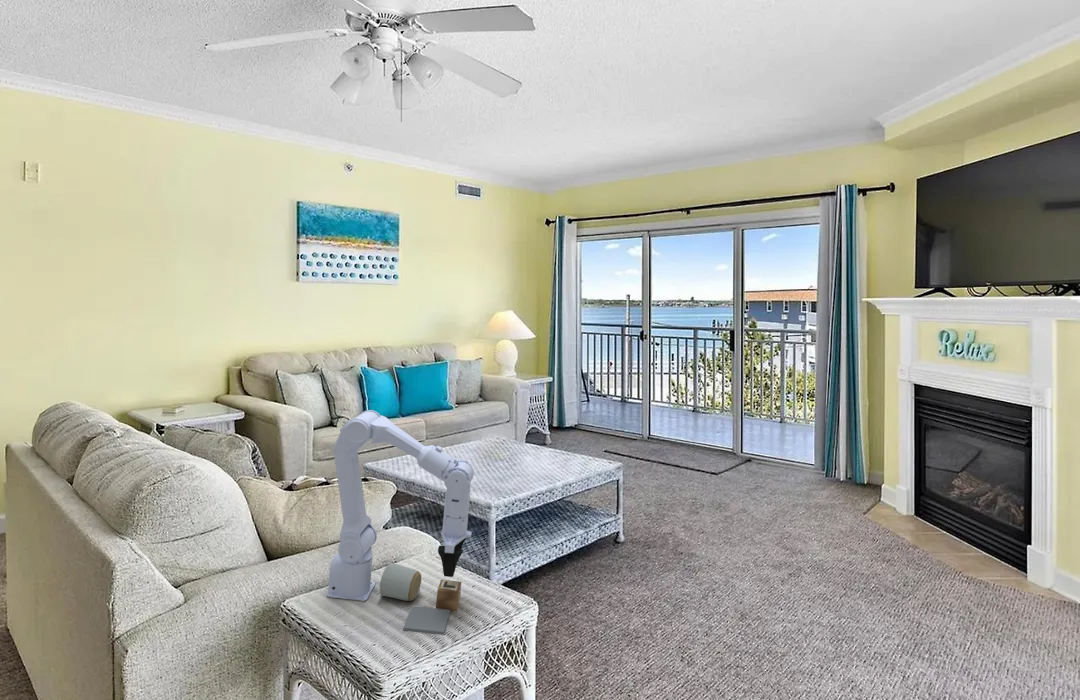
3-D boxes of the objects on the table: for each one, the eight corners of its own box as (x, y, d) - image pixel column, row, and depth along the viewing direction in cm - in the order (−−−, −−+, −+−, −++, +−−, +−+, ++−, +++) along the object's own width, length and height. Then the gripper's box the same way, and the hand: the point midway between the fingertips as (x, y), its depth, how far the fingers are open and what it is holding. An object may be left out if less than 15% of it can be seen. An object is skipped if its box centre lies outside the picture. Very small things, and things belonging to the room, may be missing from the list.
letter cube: (435, 609, 147) (437, 588, 147) (439, 598, 152) (441, 578, 152) (456, 612, 147) (458, 591, 147) (459, 601, 152) (461, 580, 152)
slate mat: (403, 630, 138) (403, 627, 138) (412, 608, 147) (412, 605, 147) (443, 634, 138) (443, 631, 138) (450, 612, 147) (450, 609, 147)
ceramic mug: (410, 607, 147) (413, 577, 146) (377, 601, 148) (380, 570, 147) (426, 586, 157) (428, 557, 157) (395, 580, 159) (398, 552, 158)
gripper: (469, 528, 140) (463, 585, 141) (476, 503, 154) (471, 555, 156) (437, 524, 140) (432, 581, 142) (448, 500, 154) (443, 552, 156)
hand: (451, 568), depth 149 cm, fingers open, 7 cm apart
